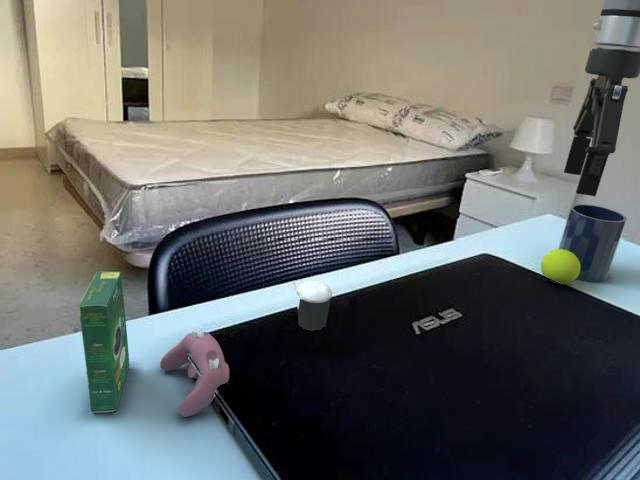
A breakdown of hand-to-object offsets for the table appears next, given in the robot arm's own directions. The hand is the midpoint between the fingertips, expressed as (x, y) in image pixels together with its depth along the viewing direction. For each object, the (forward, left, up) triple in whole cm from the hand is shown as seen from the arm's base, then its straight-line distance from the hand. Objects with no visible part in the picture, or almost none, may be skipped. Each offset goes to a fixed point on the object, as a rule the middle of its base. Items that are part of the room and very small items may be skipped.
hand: (578, 183), depth 84 cm
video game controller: (+39, +54, -19) cm, 69 cm away
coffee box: (+47, +58, -19) cm, 77 cm away
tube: (-6, -9, -19) cm, 21 cm away
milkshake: (+31, +40, -19) cm, 54 cm away
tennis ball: (-1, 0, -16) cm, 16 cm away
